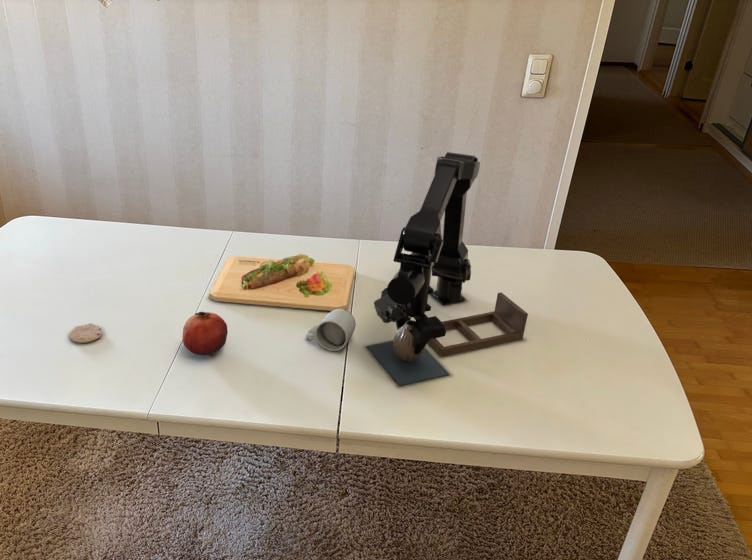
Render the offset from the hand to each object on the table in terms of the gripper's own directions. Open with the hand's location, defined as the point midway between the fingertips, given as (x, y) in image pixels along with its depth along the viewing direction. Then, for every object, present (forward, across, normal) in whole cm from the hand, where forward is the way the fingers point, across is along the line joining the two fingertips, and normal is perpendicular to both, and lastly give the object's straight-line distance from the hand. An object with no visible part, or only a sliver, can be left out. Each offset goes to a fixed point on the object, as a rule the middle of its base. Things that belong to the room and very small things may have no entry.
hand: (408, 345), depth 159 cm
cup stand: (+4, -4, +18) cm, 19 cm away
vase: (+3, 0, 0) cm, 3 cm away
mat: (+4, 0, 0) cm, 4 cm away
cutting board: (+4, -42, -14) cm, 44 cm away
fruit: (+4, -19, -41) cm, 45 cm away
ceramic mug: (+4, -13, -13) cm, 19 cm away
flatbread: (+4, -35, -66) cm, 75 cm away
